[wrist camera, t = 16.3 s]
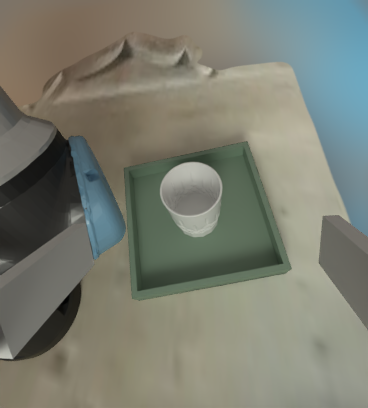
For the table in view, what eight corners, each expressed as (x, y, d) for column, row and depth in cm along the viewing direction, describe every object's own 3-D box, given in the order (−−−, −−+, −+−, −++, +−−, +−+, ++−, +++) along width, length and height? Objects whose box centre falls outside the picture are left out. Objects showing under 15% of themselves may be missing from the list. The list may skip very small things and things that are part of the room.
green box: (139, 300, 37) (131, 298, 34) (130, 178, 47) (123, 167, 44) (285, 273, 36) (291, 268, 33) (245, 153, 46) (247, 141, 42)
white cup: (232, 218, 40) (235, 188, 31) (195, 251, 38) (186, 229, 29) (199, 187, 43) (193, 151, 34) (163, 216, 41) (147, 187, 32)
